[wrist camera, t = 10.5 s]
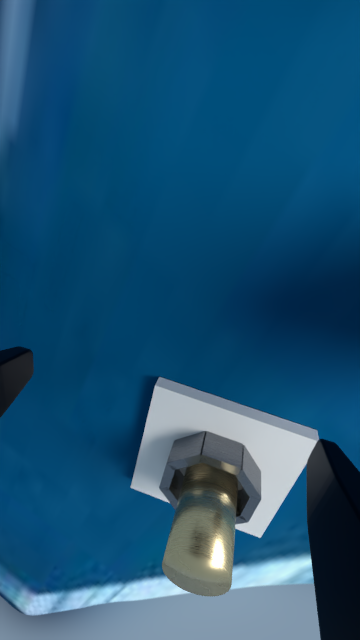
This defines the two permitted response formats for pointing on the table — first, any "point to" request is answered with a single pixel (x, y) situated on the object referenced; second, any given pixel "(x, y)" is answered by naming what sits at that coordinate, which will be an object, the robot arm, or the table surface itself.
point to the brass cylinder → (203, 532)
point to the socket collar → (218, 455)
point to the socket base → (230, 422)
